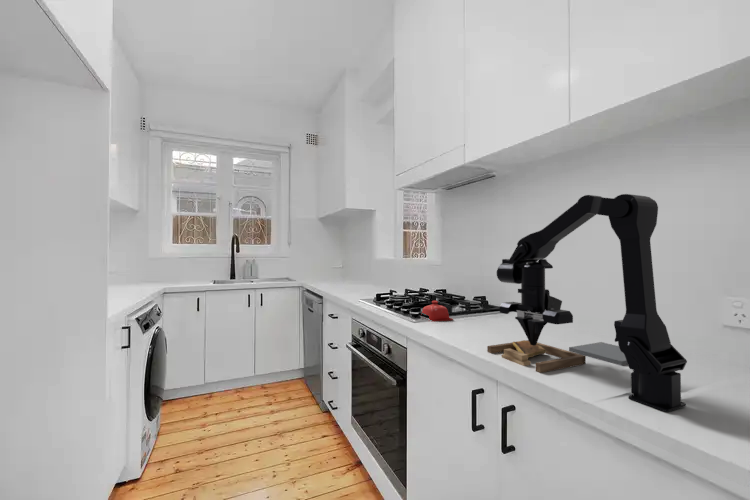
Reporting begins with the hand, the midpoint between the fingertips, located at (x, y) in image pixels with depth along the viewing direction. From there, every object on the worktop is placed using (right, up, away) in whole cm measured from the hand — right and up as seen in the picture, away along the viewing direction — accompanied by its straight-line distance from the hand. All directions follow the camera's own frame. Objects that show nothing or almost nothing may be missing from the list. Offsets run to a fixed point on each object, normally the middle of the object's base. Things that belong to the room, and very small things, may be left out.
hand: (533, 345), depth 91 cm
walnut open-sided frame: (0, -4, 0) cm, 4 cm away
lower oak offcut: (-6, -4, -3) cm, 7 cm away
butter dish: (-17, -5, +51) cm, 54 cm away
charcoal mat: (+22, -4, +3) cm, 23 cm away
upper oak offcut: (-6, -3, -3) cm, 7 cm away
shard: (0, -5, -2) cm, 5 cm away
